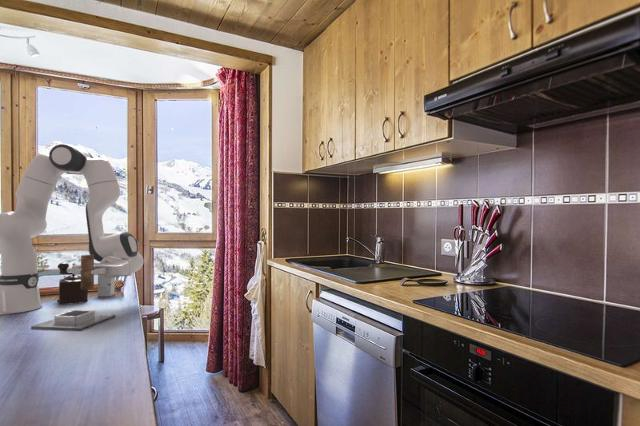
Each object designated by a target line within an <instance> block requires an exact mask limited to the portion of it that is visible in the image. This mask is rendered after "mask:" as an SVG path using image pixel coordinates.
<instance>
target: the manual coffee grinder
mask: <svg viewBox="0 0 640 426" xmlns="http://www.w3.org/2000/svg"><path fill="white" fill-rule="evenodd" d="M73 265H76V263H74V262H73V263H72V266H73ZM69 267H70V264H69V263H67V262H64V261H63V262H61V263H59V264H57V269H59V274H60V275H63V278H61V279H59V281H58V299H56V302H57V303H58V305H69V304H70V303H71V304H79V302H81V303H86V302H88V300H89V299H88V295H89V293H88V292H89V289H86V290H82V289H81V275H78V274H73V273H72V271H71V272H69V271H68V269H69ZM65 275H67V276H65Z"/></svg>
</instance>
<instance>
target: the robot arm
mask: <svg viewBox="0 0 640 426" xmlns="http://www.w3.org/2000/svg"><path fill="white" fill-rule="evenodd" d="M63 174H67V175H77V176H78V175H79V176H80V175H82V176H83V177H84V179H85V182H86V184H87V188H88V199H87V200H88V201H87V203H86V204H85V218H86V225H87V233H88V253H89V254H88V255H94V261H96V262H94V269H93V270H91V275H94V276H98V275H102V276H103V277H105V278H108V279H112V278H115V279H116V278H121V277H129V276H132V275H133V274H135V273H136V272H138V271H140V270H141V269H142V267H143V265H144V257H143V255H142V254H141V253H140V252H139V247H138V242H137V239H136V237H135V235H133V234H132V233H130V232H128V231H126V230H125V231H124V230H123V231H121V232H117V233H113V234H110V235H107V236H105V233H104V224H103V215H104V214H105V213H106V211H107V210H108V209H109V208H111V207H112V206H114V204H115V203H116V202H117V201H118V200H119V198H120V196H121V189H120V184H119V182H118V179H117V178H118V177H117V176H116V173H115V171H114V169H113V166H112V165H111V163H110V161H109V160H108V159H106V158H103V157H95V158H94V156H92V154H91V153H90V152H88V151H86V150H85V149H83V148H81V147H78V146H74V145H72V144H68V143H61V144H57V145H55V146H53V147H52V148H51V149H50V151H49V153H38V154H36V155H35V156H34V157H33V158H32V159H31V161H30V162H29V164H28V165H27V167H26V169H25V170H24V173H23V175H22V177H21V179H20V182H19V184H18V186H17V188H16V191H15V197H16V205H15V209H14V211H13V210H12V211H6V212H2V213H0V256H1V257H0V258H1V259H0V261H1V263H0V265H1V270H0V271H1V274H0V316H3V315H8V314H17V313H25V312H29V311H33V310H38V309H40V308H42V307H43V305H42V304H43V302H42V301H41V295H40V289H39V288H40V287H39V285H38V284H39V277H40V275H39V272H38V252H37V251H36V250H35V248H34V246H33V241H32V238H35V237H37V236H39V235H41V234H43V233H44V232H45V231H46V229H47V227H48V225H47V224H48V223H47V220H46V219H47V213H48V212H47V211H48V206H49V202H50V200H51V197H52V196H53V193H54V190H55V188H56V185H57V183H58V181H59V180H60V177H61V176H63ZM75 264H76V263H75ZM71 272H72V273H73V274H75V275H77V276H81V263H78V264H76V265H72V267H71Z"/></svg>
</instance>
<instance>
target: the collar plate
mask: <svg viewBox="0 0 640 426" xmlns="http://www.w3.org/2000/svg"><path fill="white" fill-rule="evenodd" d="M114 318H116V315H115V314H96V310H93V309H91V310H89V309H72V310H70V311H66V312H63V313H60V314H56V315H54V318H53V319H50V320H47V321H44V322H40V323H38V324H34V325H31V326H30V328H31V330H48V331H49V330H51V331H71V332H72V331H75V332H76V331H77V332H81V331H84V330H87V329H89V328H92V327H93V326H94V327H95V326H97V325H100V324H102V323H105V322H106V321H107V322H108V321H110V320H112V319H114Z"/></svg>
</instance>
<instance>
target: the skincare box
mask: <svg viewBox="0 0 640 426" xmlns="http://www.w3.org/2000/svg"><path fill="white" fill-rule="evenodd" d="M115 285H116V278H112V279H108V278H105V277H103V276H102V275H97V294H96V295H97V297H112V296H114V295H115Z"/></svg>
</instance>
